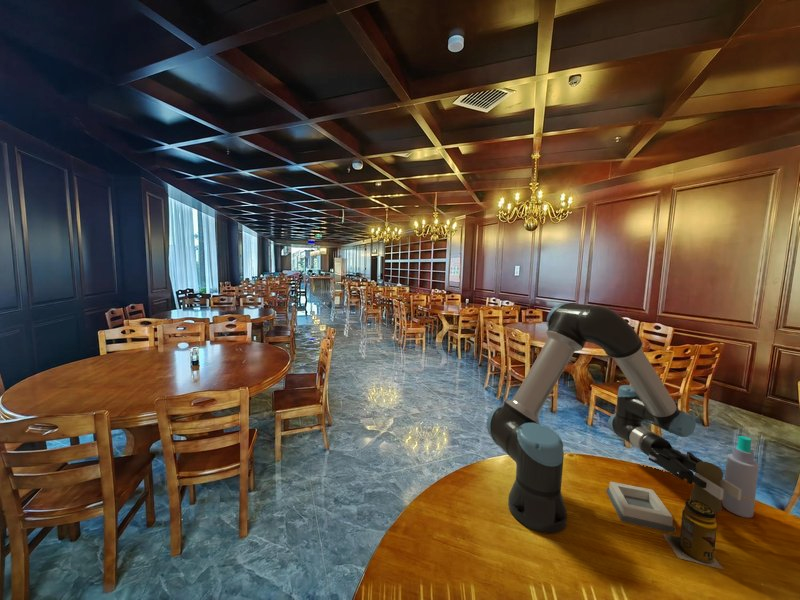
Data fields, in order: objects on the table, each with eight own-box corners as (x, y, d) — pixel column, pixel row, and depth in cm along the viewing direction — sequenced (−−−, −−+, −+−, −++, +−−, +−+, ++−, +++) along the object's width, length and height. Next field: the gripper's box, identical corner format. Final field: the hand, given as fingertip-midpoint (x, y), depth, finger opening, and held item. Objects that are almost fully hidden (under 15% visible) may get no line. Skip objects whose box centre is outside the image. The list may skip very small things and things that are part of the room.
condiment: (723, 569, 70) (728, 520, 69) (678, 558, 72) (682, 511, 71) (702, 543, 77) (707, 498, 76) (662, 534, 79) (666, 491, 78)
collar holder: (621, 521, 83) (622, 507, 83) (606, 492, 95) (607, 480, 94) (674, 533, 80) (676, 519, 79) (652, 501, 91) (653, 489, 91)
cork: (728, 513, 79) (733, 473, 78) (701, 509, 80) (705, 469, 79) (709, 497, 84) (714, 459, 84) (684, 493, 86) (688, 456, 85)
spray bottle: (755, 522, 84) (764, 446, 82) (724, 511, 88) (731, 438, 86) (749, 509, 89) (757, 437, 87) (720, 499, 92) (727, 430, 91)
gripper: (674, 455, 100) (761, 509, 77) (624, 454, 100) (696, 508, 76) (676, 433, 100) (764, 480, 76) (626, 432, 99) (699, 480, 76)
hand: (730, 494), depth 76 cm, fingers closed on cork, 4 cm apart
